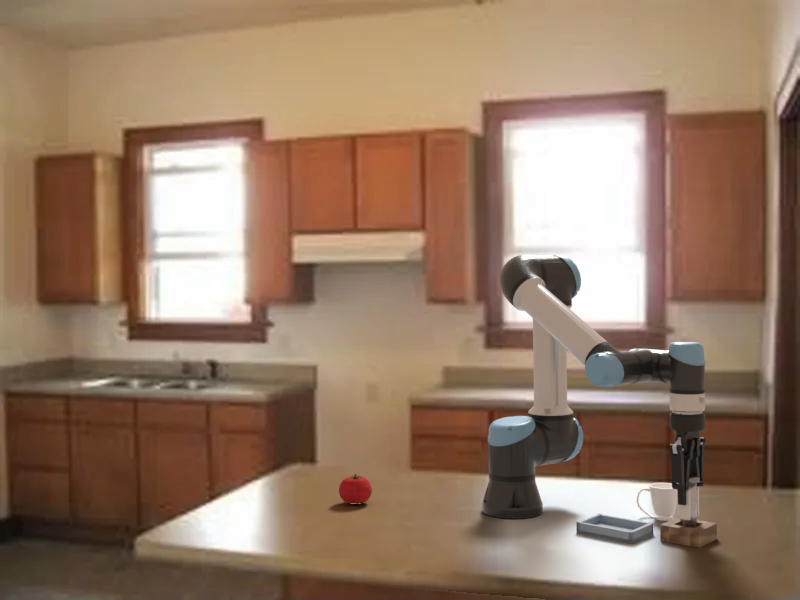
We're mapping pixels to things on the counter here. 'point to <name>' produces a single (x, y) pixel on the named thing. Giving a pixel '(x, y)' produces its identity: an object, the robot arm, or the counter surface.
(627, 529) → the tray
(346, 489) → the tomato
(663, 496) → the cup
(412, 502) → the counter surface
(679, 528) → the socket block
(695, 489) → the pin
